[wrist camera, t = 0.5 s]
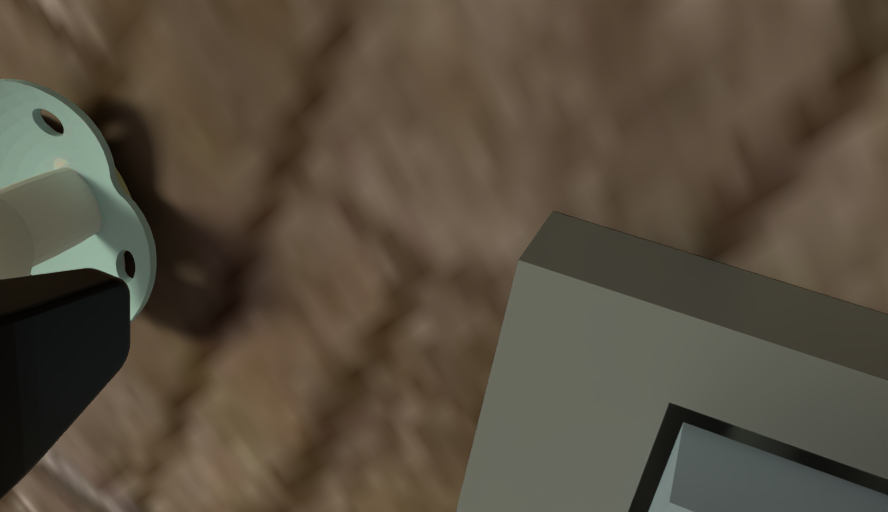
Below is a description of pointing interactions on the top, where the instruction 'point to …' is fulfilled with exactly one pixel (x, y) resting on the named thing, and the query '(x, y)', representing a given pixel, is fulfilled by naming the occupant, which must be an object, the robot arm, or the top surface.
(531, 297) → the keypad
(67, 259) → the pacifier
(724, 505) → the slate key
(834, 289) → the top surface
